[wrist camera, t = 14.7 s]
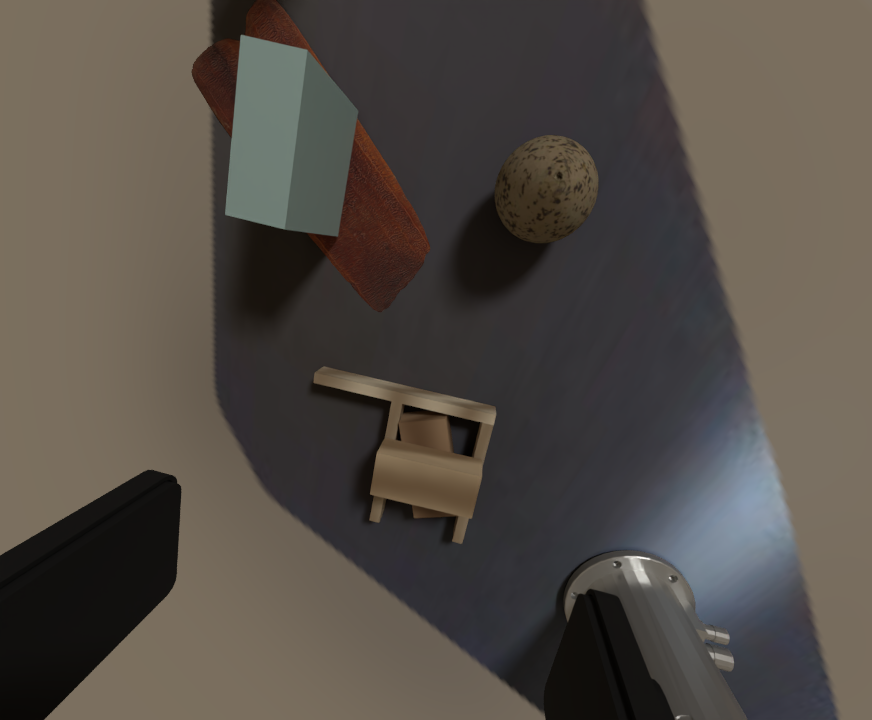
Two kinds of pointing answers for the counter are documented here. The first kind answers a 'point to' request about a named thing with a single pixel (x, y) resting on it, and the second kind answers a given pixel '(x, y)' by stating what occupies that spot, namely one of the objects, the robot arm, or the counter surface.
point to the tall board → (288, 140)
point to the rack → (419, 399)
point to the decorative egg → (546, 189)
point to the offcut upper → (427, 477)
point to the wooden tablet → (366, 183)
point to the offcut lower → (427, 442)
